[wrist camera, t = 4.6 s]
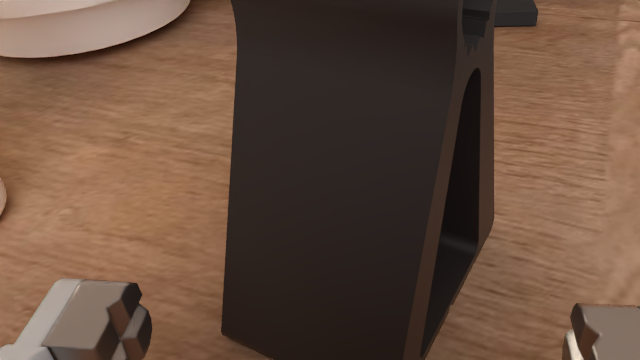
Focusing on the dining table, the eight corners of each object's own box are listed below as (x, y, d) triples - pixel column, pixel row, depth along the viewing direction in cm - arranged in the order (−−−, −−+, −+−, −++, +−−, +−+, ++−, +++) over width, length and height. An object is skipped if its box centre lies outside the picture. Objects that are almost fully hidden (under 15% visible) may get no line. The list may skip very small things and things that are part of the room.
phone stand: (354, 185, 25) (340, -131, 18) (494, 227, 22) (545, -126, 15) (222, 339, 19) (118, -44, 12) (392, 422, 16) (396, -10, 9)
